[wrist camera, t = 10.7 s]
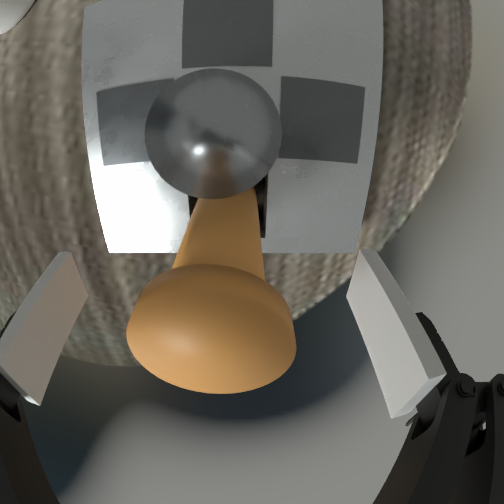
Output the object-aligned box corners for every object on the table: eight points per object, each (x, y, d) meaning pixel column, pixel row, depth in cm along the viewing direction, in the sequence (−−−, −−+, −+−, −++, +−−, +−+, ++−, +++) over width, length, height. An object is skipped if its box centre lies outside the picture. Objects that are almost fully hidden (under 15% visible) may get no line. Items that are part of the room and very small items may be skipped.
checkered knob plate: (121, 234, 23) (66, 322, 14) (103, 13, 12) (11, -13, 3) (343, 234, 24) (393, 326, 14) (365, 8, 13) (452, -30, 4)
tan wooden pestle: (196, 220, 23) (150, 388, 10) (192, 154, 20) (103, 287, 7) (264, 220, 23) (285, 392, 10) (267, 154, 20) (309, 290, 7)
